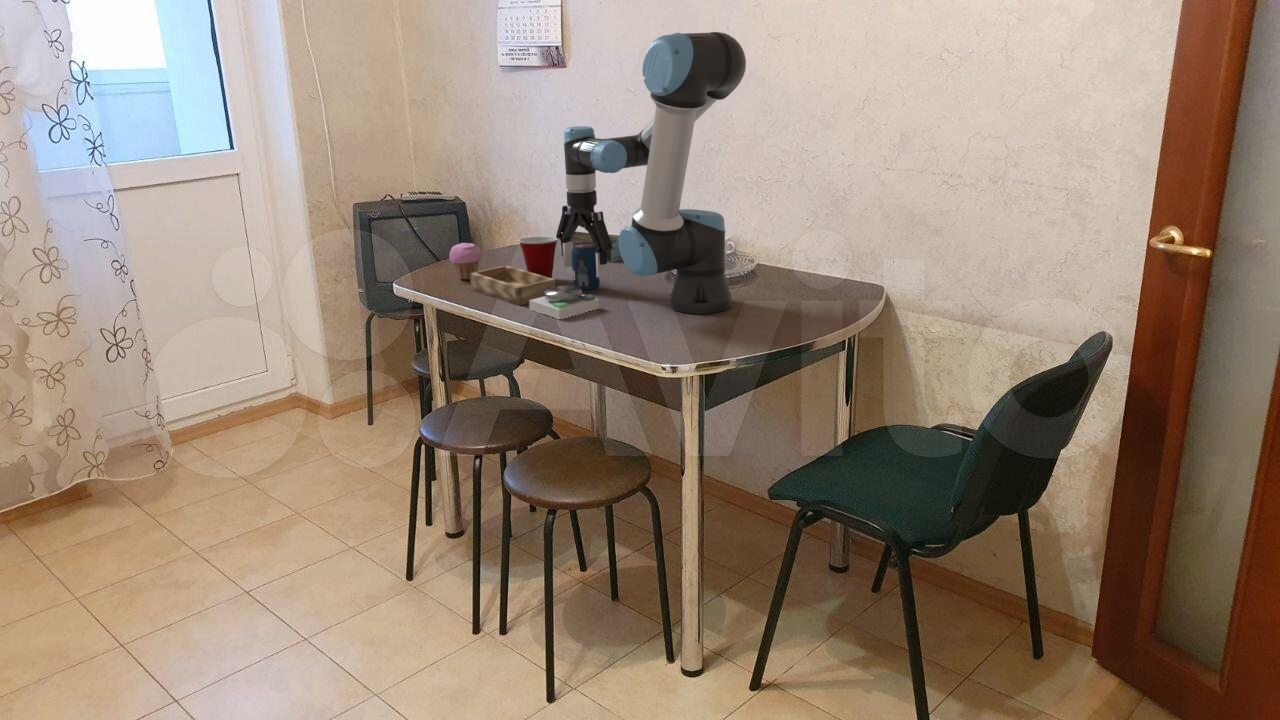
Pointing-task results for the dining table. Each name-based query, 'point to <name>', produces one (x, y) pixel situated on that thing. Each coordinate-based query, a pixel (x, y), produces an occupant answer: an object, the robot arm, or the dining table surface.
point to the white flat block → (564, 306)
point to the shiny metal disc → (563, 293)
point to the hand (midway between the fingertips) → (584, 271)
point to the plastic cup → (539, 254)
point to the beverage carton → (585, 237)
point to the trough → (510, 284)
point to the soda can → (584, 266)
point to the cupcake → (465, 259)
